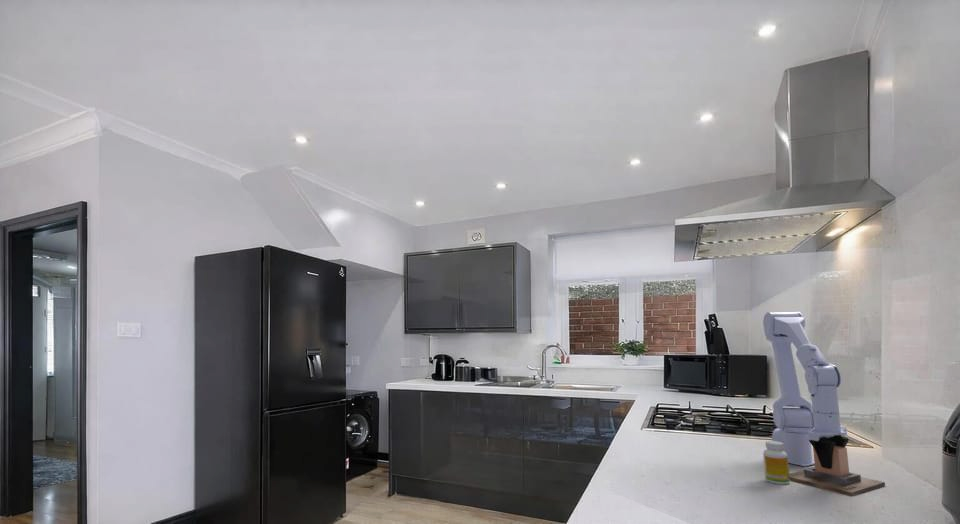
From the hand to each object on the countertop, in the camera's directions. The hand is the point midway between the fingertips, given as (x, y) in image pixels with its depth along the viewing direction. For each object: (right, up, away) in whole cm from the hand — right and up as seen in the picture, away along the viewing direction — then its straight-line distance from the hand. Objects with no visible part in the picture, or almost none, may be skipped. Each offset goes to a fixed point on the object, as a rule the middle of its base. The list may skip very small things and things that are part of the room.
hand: (831, 466), depth 126 cm
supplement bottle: (-14, -4, 0) cm, 14 cm away
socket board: (0, -4, 0) cm, 4 cm away
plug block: (0, -2, 0) cm, 2 cm away
